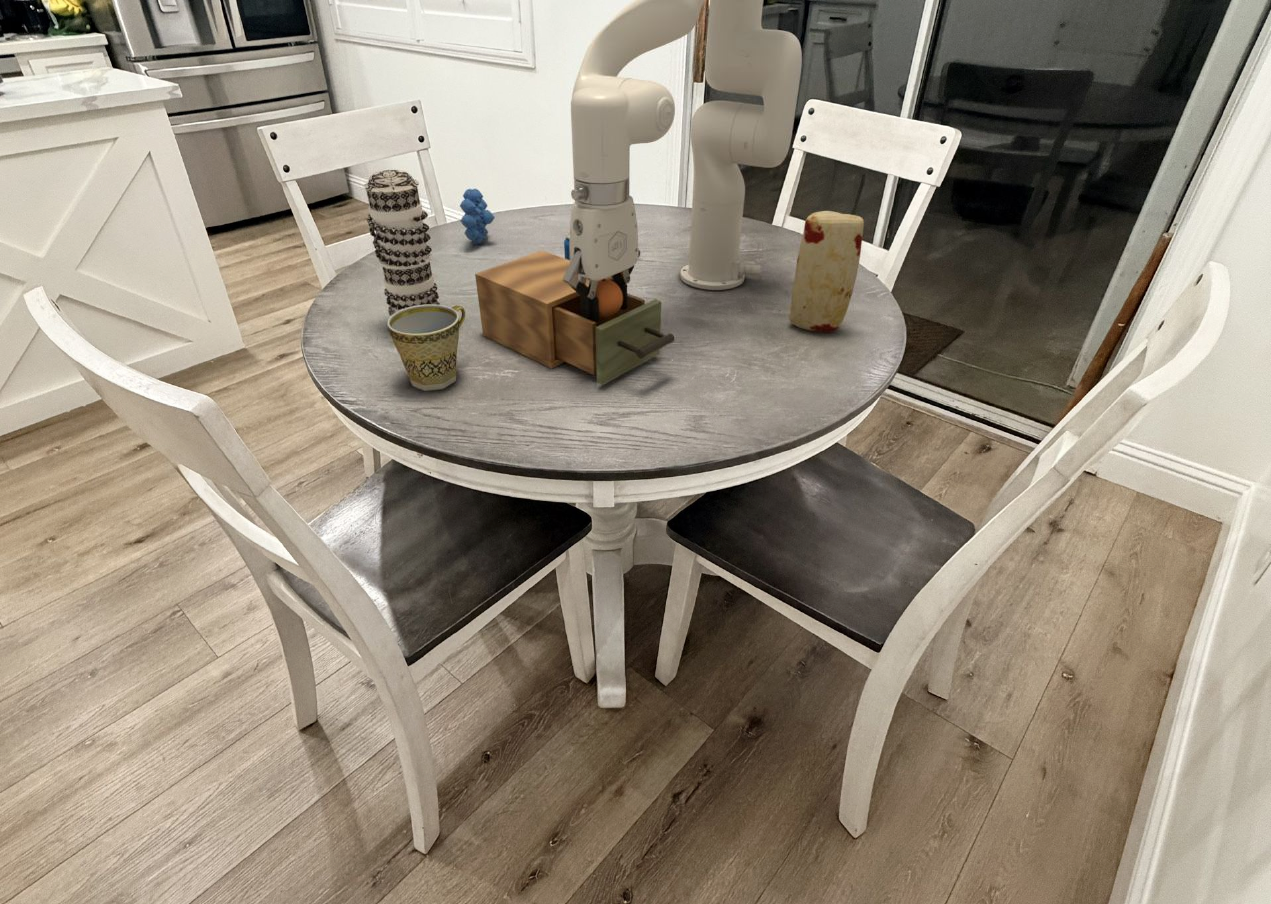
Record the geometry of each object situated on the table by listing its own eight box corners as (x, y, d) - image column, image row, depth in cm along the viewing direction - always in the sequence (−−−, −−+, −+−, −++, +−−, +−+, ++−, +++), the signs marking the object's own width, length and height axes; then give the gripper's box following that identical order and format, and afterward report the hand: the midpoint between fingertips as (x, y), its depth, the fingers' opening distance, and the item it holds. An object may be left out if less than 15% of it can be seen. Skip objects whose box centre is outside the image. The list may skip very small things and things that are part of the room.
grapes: (489, 254, 148) (482, 196, 141) (458, 252, 149) (450, 194, 141) (505, 236, 157) (499, 180, 150) (475, 234, 158) (468, 179, 151)
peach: (591, 306, 109) (589, 268, 105) (626, 309, 108) (626, 271, 104) (581, 321, 105) (580, 282, 101) (618, 325, 104) (618, 286, 100)
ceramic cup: (434, 404, 100) (422, 340, 94) (385, 384, 105) (371, 323, 99) (495, 366, 109) (487, 306, 103) (447, 350, 114) (438, 291, 108)
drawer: (685, 364, 108) (688, 311, 103) (628, 397, 101) (629, 341, 95) (589, 324, 120) (587, 274, 114) (531, 351, 112) (526, 298, 106)
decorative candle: (427, 309, 126) (401, 162, 111) (455, 326, 121) (432, 174, 106) (380, 325, 121) (346, 173, 106) (407, 343, 115) (376, 186, 101)
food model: (786, 333, 119) (804, 215, 108) (788, 317, 125) (805, 202, 113) (845, 339, 118) (869, 220, 106) (844, 322, 123) (868, 207, 111)
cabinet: (614, 337, 118) (613, 276, 111) (551, 368, 109) (547, 303, 103) (545, 308, 127) (541, 250, 120) (482, 335, 118) (474, 273, 112)
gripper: (576, 211, 88) (581, 340, 99) (663, 182, 99) (659, 303, 109) (535, 198, 92) (545, 324, 103) (623, 172, 103) (624, 289, 113)
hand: (604, 312), depth 106 cm, fingers closed on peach, 5 cm apart
